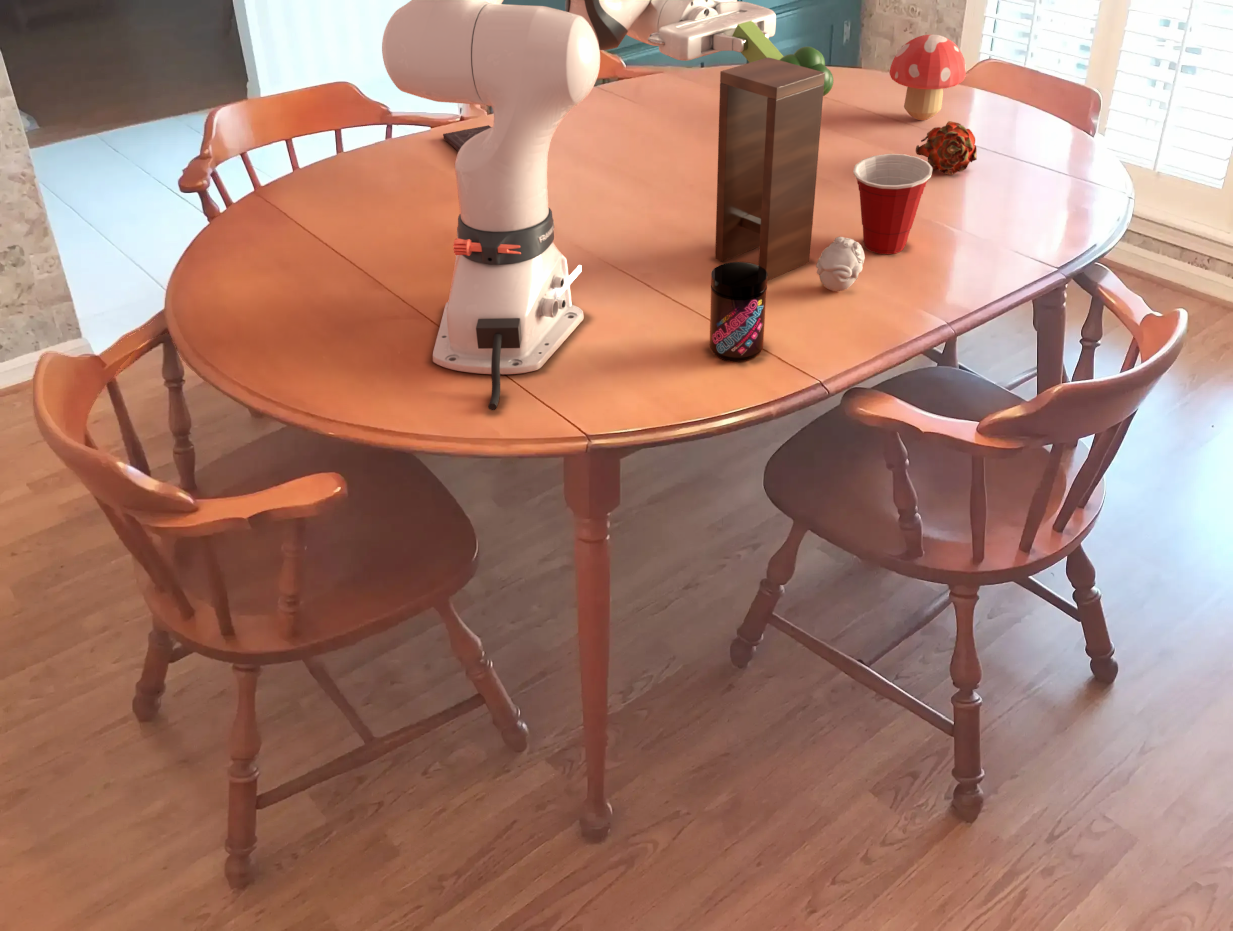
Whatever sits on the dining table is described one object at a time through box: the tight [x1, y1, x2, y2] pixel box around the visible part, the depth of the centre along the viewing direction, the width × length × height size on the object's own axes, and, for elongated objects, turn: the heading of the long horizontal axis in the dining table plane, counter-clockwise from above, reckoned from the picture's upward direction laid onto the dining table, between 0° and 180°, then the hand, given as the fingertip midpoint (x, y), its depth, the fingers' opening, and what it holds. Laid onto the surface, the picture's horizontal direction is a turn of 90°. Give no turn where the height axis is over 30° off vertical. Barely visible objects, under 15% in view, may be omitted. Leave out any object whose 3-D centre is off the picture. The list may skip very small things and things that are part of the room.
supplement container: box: [709, 261, 768, 363], centre depth 133 cm, size 7×7×10 cm
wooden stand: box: [714, 57, 825, 282], centre depth 149 cm, size 10×9×26 cm
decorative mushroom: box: [888, 34, 967, 121], centre depth 199 cm, size 13×13×15 cm
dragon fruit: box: [915, 120, 978, 176], centre depth 181 cm, size 8×8×12 cm
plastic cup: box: [852, 153, 933, 255], centre depth 156 cm, size 11×11×12 cm
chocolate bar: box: [443, 124, 492, 153], centre depth 196 cm, size 9×1×18 cm
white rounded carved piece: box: [815, 236, 866, 292], centre depth 147 cm, size 6×7×7 cm
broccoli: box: [732, 21, 834, 97], centre depth 159 cm, size 17×9×8 cm
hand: (755, 42), depth 162 cm, fingers closed on broccoli, 3 cm apart
